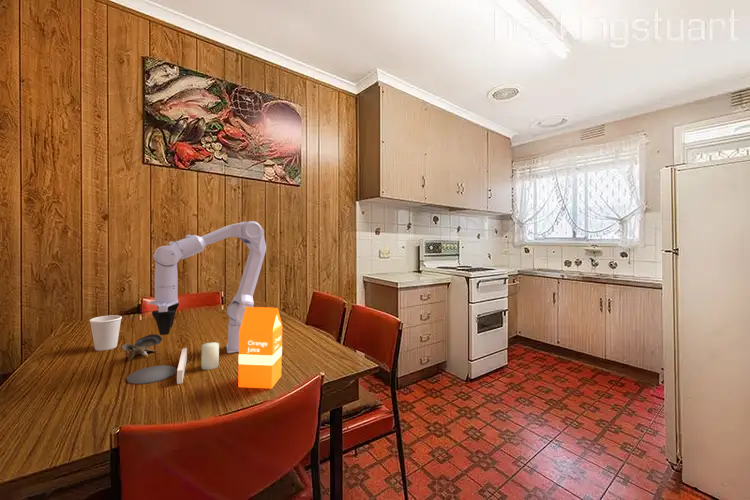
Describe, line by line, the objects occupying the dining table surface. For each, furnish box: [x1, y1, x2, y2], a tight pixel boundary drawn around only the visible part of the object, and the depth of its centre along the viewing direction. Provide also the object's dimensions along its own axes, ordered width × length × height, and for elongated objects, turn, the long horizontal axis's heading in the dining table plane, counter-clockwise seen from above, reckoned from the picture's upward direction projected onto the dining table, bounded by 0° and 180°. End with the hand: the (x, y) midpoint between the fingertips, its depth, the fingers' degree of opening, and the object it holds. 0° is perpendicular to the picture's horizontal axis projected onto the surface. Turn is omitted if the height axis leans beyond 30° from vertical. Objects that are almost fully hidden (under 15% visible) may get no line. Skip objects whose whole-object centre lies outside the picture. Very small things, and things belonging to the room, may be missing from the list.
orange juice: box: [237, 306, 283, 390], centre depth 83 cm, size 8×9×20 cm
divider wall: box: [176, 347, 188, 385], centre depth 89 cm, size 1×18×4 cm, turn 28°
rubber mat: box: [126, 364, 177, 385], centre depth 85 cm, size 11×11×1 cm
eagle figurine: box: [121, 333, 163, 362], centre depth 98 cm, size 8×7×9 cm
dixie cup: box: [89, 314, 123, 352], centre depth 105 cm, size 8×8×10 cm
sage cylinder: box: [201, 342, 220, 371], centre depth 92 cm, size 4×4×6 cm
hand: (166, 330), depth 94 cm, fingers open, 7 cm apart
